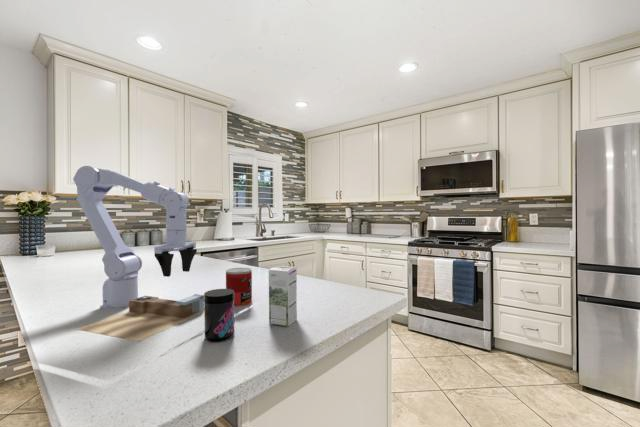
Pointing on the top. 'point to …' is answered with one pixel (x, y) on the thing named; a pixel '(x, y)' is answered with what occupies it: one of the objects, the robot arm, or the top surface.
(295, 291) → the syrup box
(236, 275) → the canned food
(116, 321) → the board
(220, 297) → the supplement container
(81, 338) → the top surface
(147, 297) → the post
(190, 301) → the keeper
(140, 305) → the link
